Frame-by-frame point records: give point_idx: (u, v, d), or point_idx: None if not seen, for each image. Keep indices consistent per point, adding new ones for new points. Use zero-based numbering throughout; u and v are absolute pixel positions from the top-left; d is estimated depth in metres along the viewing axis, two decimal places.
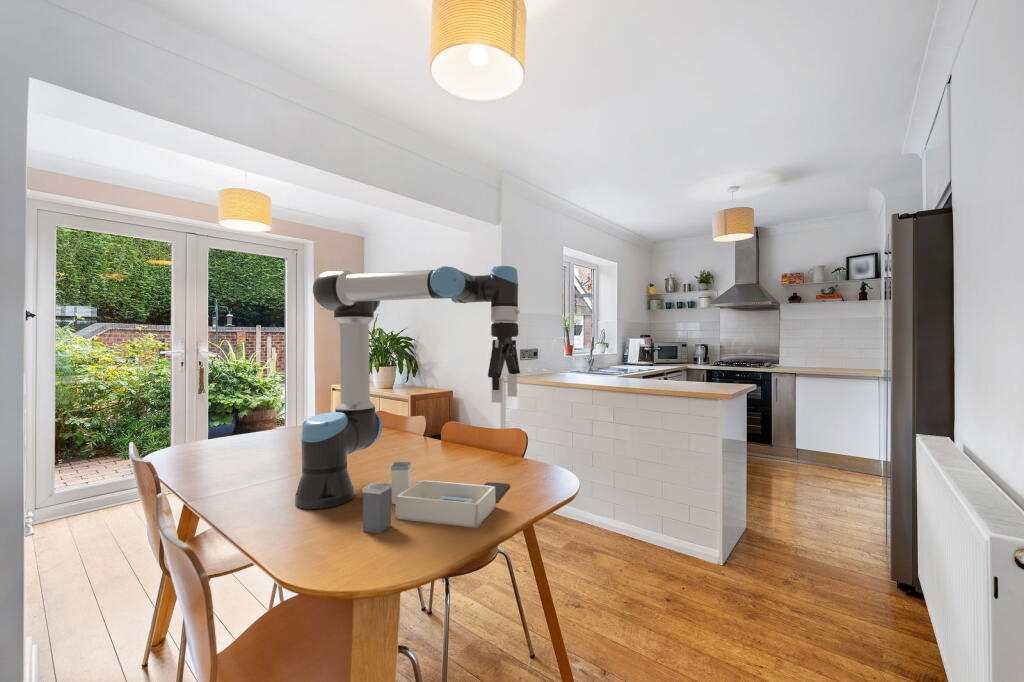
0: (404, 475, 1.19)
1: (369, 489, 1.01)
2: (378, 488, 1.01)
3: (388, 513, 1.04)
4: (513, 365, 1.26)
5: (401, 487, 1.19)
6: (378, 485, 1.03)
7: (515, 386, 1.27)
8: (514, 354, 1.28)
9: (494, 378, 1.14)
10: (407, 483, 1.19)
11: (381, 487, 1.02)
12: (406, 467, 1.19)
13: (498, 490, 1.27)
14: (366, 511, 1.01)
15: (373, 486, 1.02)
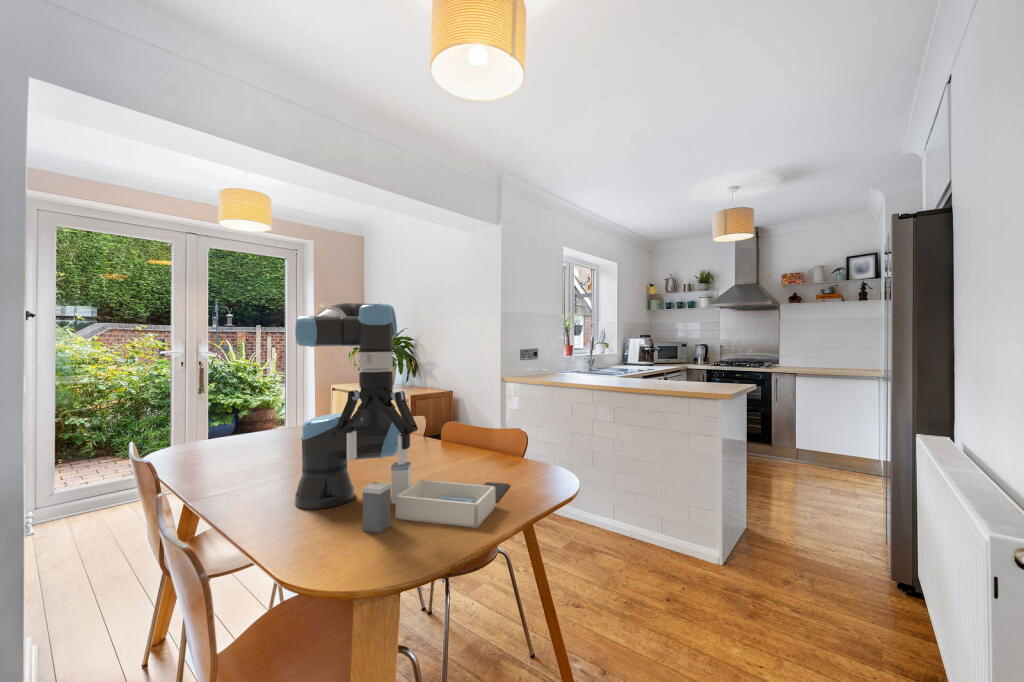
0: (404, 475, 1.19)
1: (369, 489, 1.01)
2: (378, 488, 1.01)
3: (388, 513, 1.04)
4: None
5: (401, 487, 1.19)
6: (379, 485, 1.03)
7: None
8: None
9: None
10: (407, 483, 1.19)
11: (381, 487, 1.02)
12: (406, 467, 1.19)
13: (498, 490, 1.27)
14: (366, 511, 1.01)
15: (373, 486, 1.02)
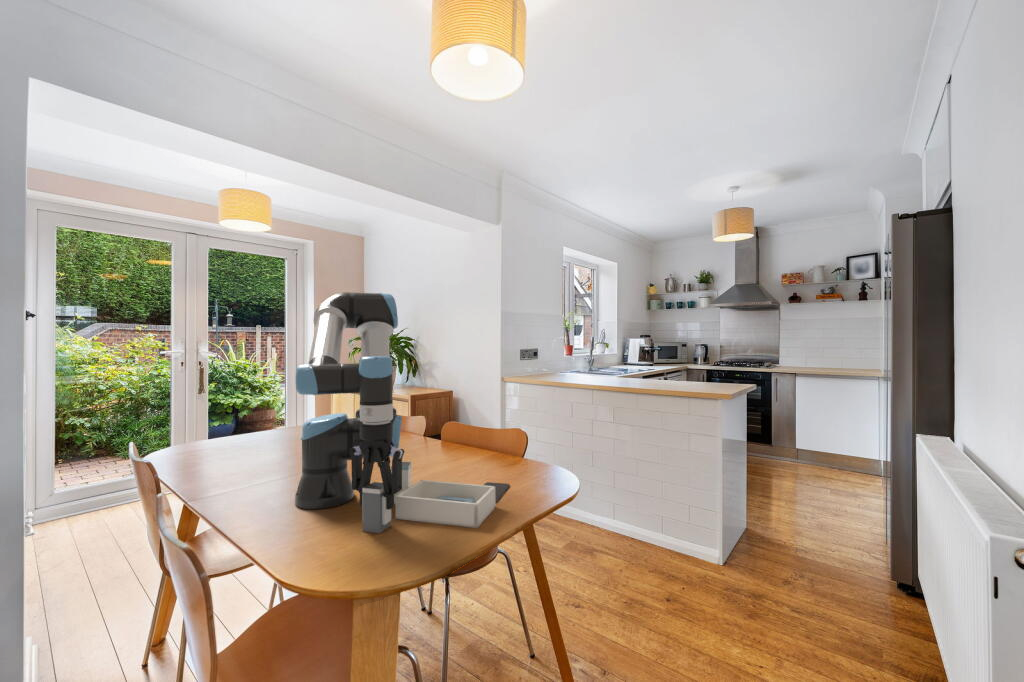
0: (404, 475, 1.19)
1: (369, 489, 1.01)
2: (378, 488, 1.01)
3: None
4: None
5: None
6: (379, 485, 1.03)
7: None
8: None
9: None
10: (407, 483, 1.19)
11: (381, 487, 1.02)
12: (406, 467, 1.19)
13: (498, 490, 1.27)
14: (366, 511, 1.01)
15: (373, 486, 1.02)
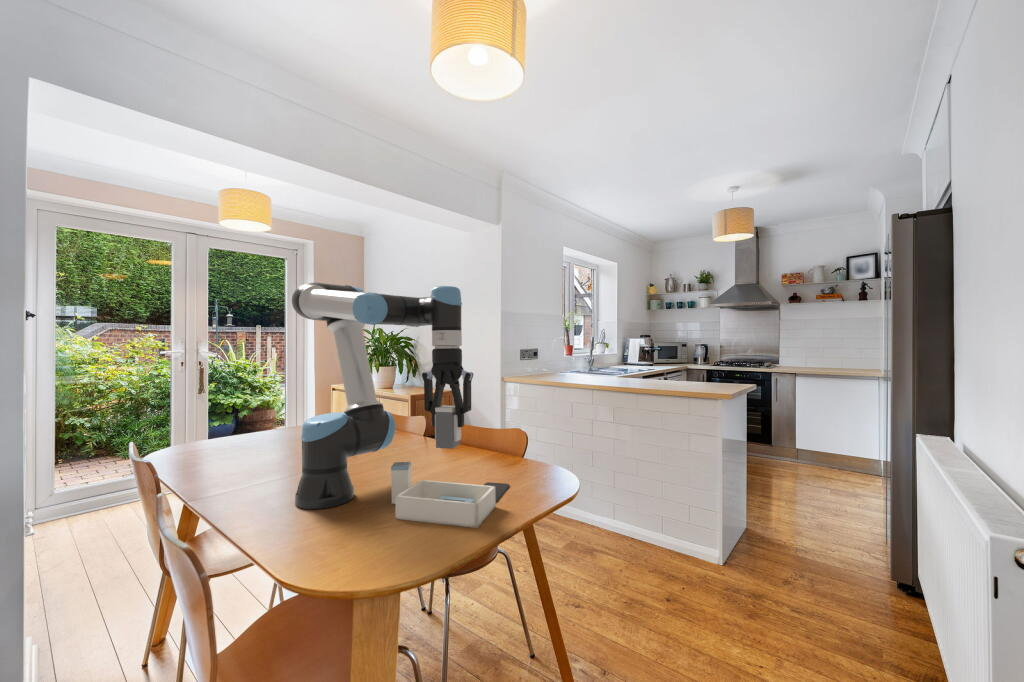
0: (404, 475, 1.19)
1: (442, 408, 1.09)
2: (450, 407, 1.09)
3: None
4: None
5: (401, 487, 1.19)
6: (449, 406, 1.11)
7: (454, 429, 1.09)
8: None
9: None
10: (407, 483, 1.19)
11: (452, 407, 1.10)
12: (406, 467, 1.19)
13: (498, 490, 1.27)
14: (439, 429, 1.09)
15: (445, 407, 1.10)
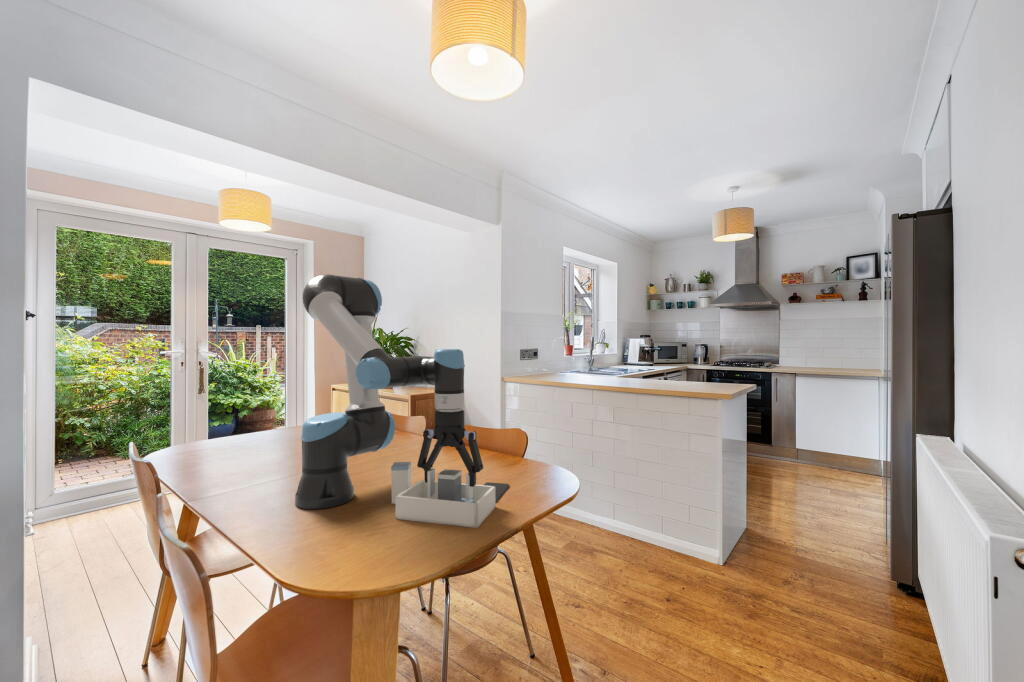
0: (404, 475, 1.19)
1: (444, 475, 1.10)
2: (452, 474, 1.10)
3: (460, 497, 1.12)
4: None
5: (401, 487, 1.19)
6: (451, 472, 1.11)
7: (466, 488, 1.09)
8: None
9: None
10: (407, 483, 1.19)
11: (454, 473, 1.10)
12: (406, 467, 1.19)
13: (497, 490, 1.27)
14: (441, 495, 1.10)
15: (447, 473, 1.11)
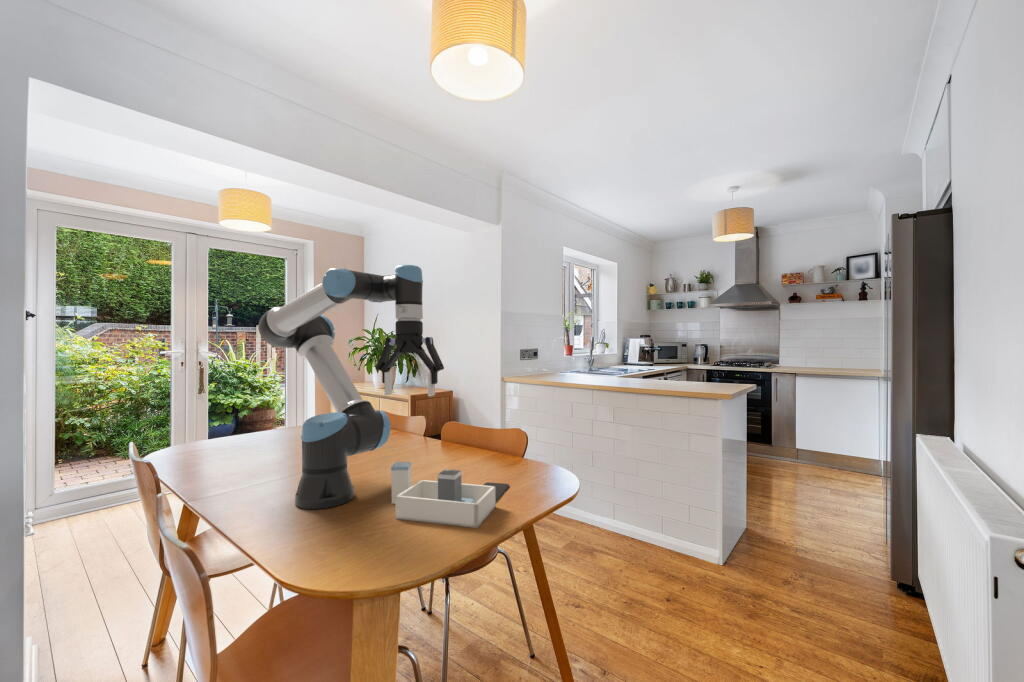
0: (404, 475, 1.19)
1: (444, 475, 1.10)
2: (452, 474, 1.10)
3: (460, 497, 1.12)
4: None
5: (401, 487, 1.19)
6: (451, 472, 1.11)
7: (428, 385, 1.21)
8: (429, 352, 1.22)
9: None
10: (407, 483, 1.19)
11: (454, 473, 1.10)
12: (406, 467, 1.19)
13: (497, 490, 1.27)
14: (441, 495, 1.10)
15: (447, 473, 1.11)
